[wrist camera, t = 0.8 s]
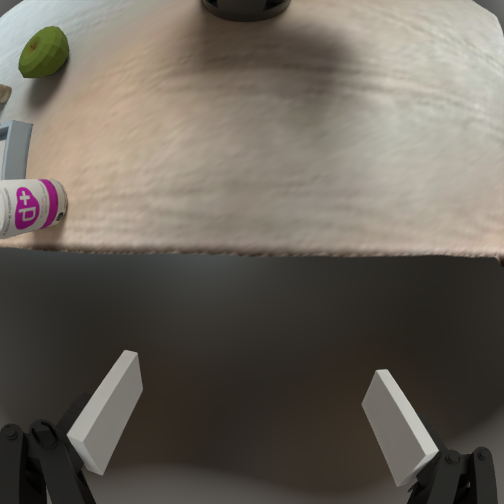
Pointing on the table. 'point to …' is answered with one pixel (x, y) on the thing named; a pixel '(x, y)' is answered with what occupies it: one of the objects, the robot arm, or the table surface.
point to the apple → (44, 53)
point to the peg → (4, 93)
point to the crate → (14, 149)
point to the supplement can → (30, 205)
